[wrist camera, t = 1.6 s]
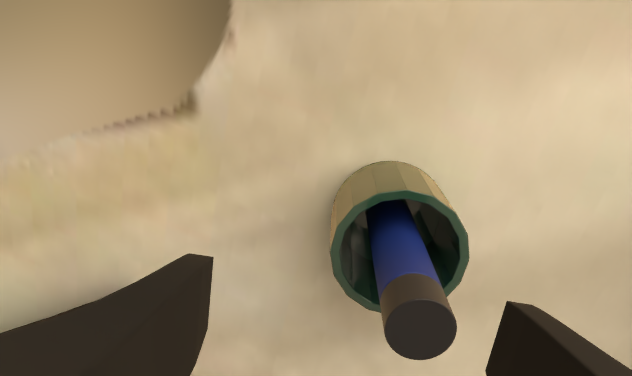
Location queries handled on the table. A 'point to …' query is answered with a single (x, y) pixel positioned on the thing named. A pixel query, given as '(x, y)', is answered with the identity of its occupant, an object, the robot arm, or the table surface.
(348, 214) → the tumbler
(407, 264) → the blue marker
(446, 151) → the table surface
